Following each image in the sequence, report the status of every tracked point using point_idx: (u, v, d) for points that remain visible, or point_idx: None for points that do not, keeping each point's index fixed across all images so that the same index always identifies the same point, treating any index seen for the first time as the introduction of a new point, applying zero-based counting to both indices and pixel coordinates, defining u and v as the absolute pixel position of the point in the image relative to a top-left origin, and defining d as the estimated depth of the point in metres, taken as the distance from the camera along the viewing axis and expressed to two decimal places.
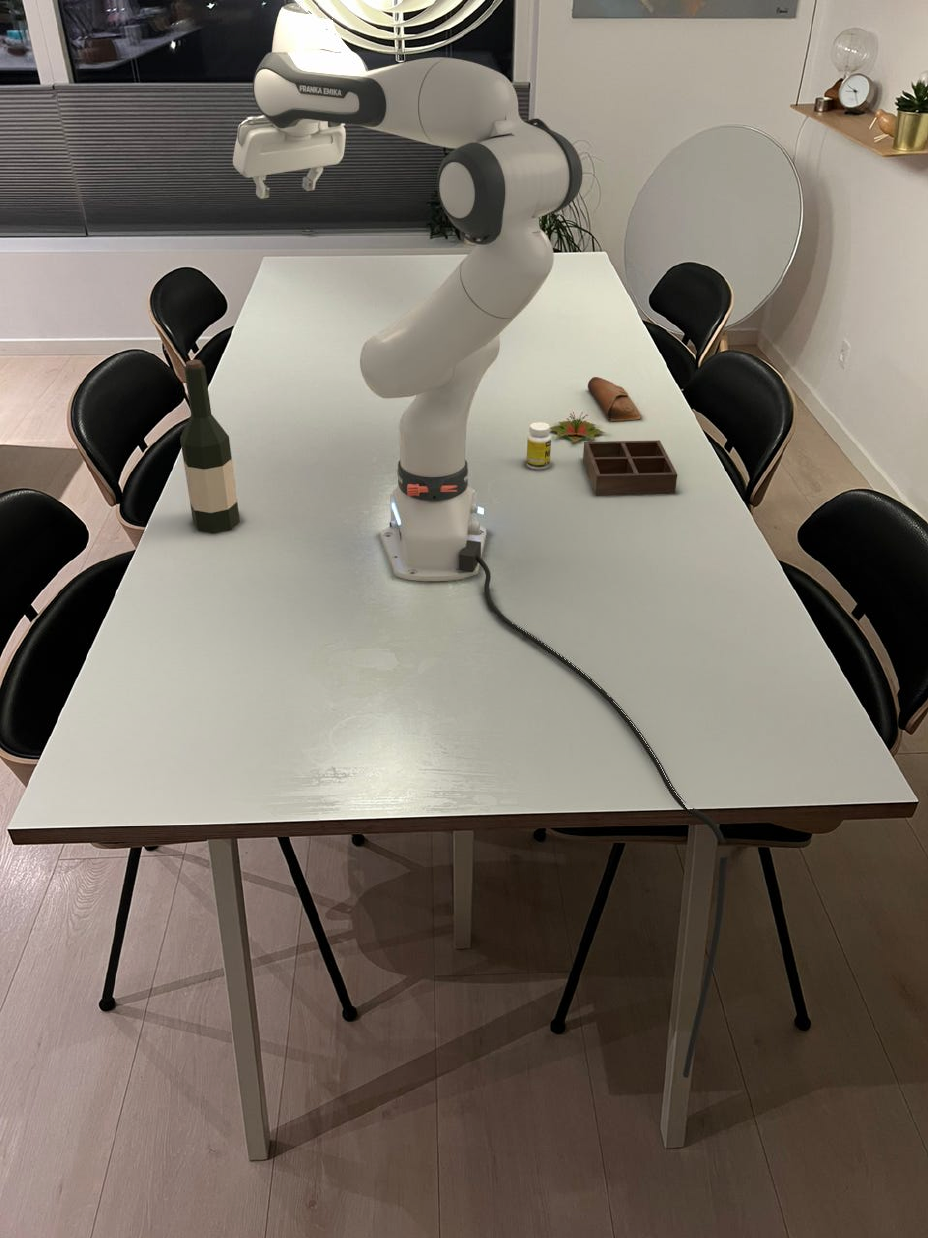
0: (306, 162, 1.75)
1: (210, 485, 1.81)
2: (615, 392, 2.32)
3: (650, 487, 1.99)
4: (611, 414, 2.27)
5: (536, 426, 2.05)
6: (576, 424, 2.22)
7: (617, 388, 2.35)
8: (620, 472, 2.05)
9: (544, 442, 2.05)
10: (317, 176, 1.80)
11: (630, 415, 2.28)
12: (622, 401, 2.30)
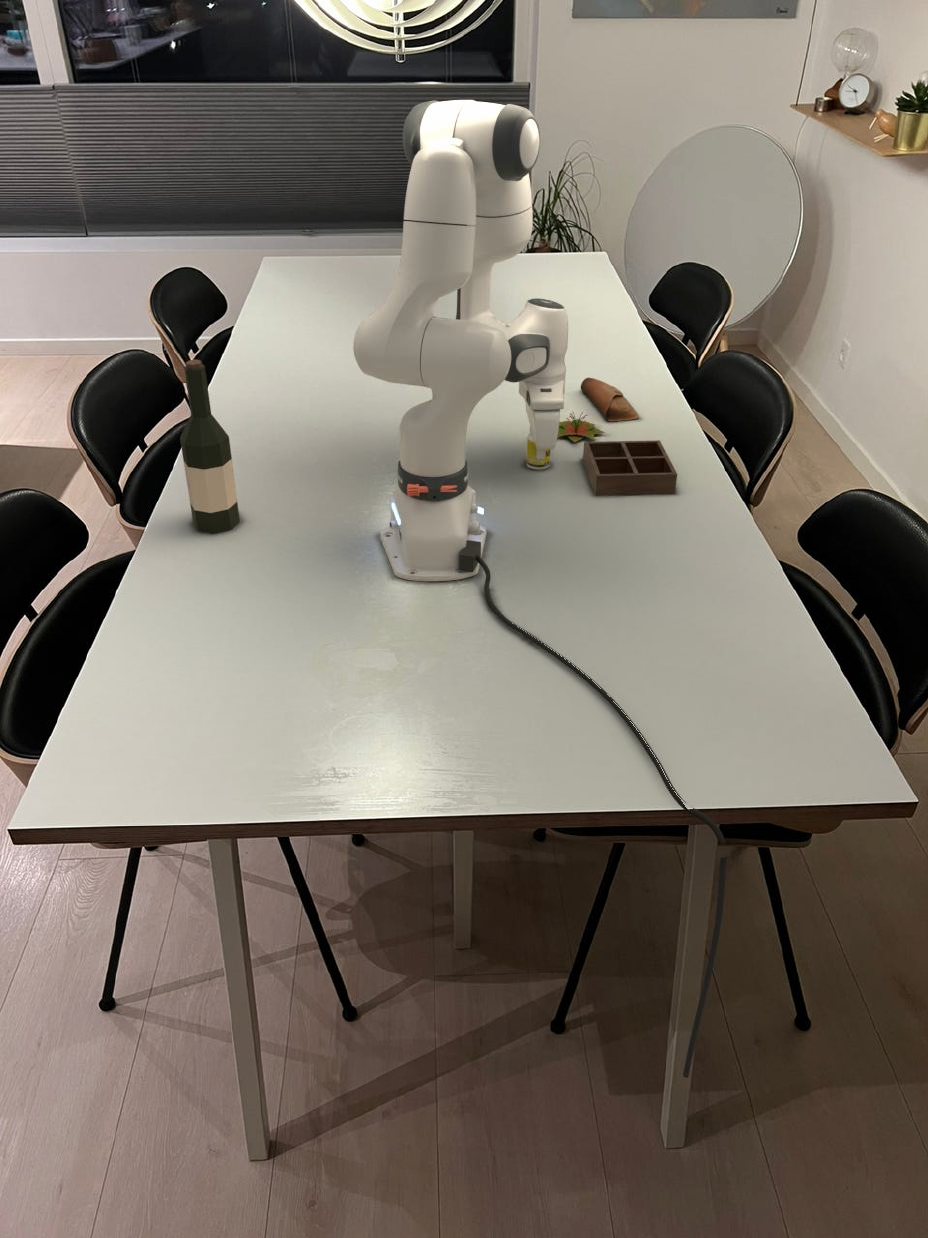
0: (531, 427, 2.03)
1: (210, 485, 1.81)
2: (611, 392, 2.32)
3: (650, 487, 1.99)
4: (609, 414, 2.27)
5: None
6: (576, 424, 2.22)
7: (612, 388, 2.35)
8: (620, 472, 2.05)
9: None
10: (536, 446, 2.03)
11: (628, 415, 2.28)
12: (618, 401, 2.30)
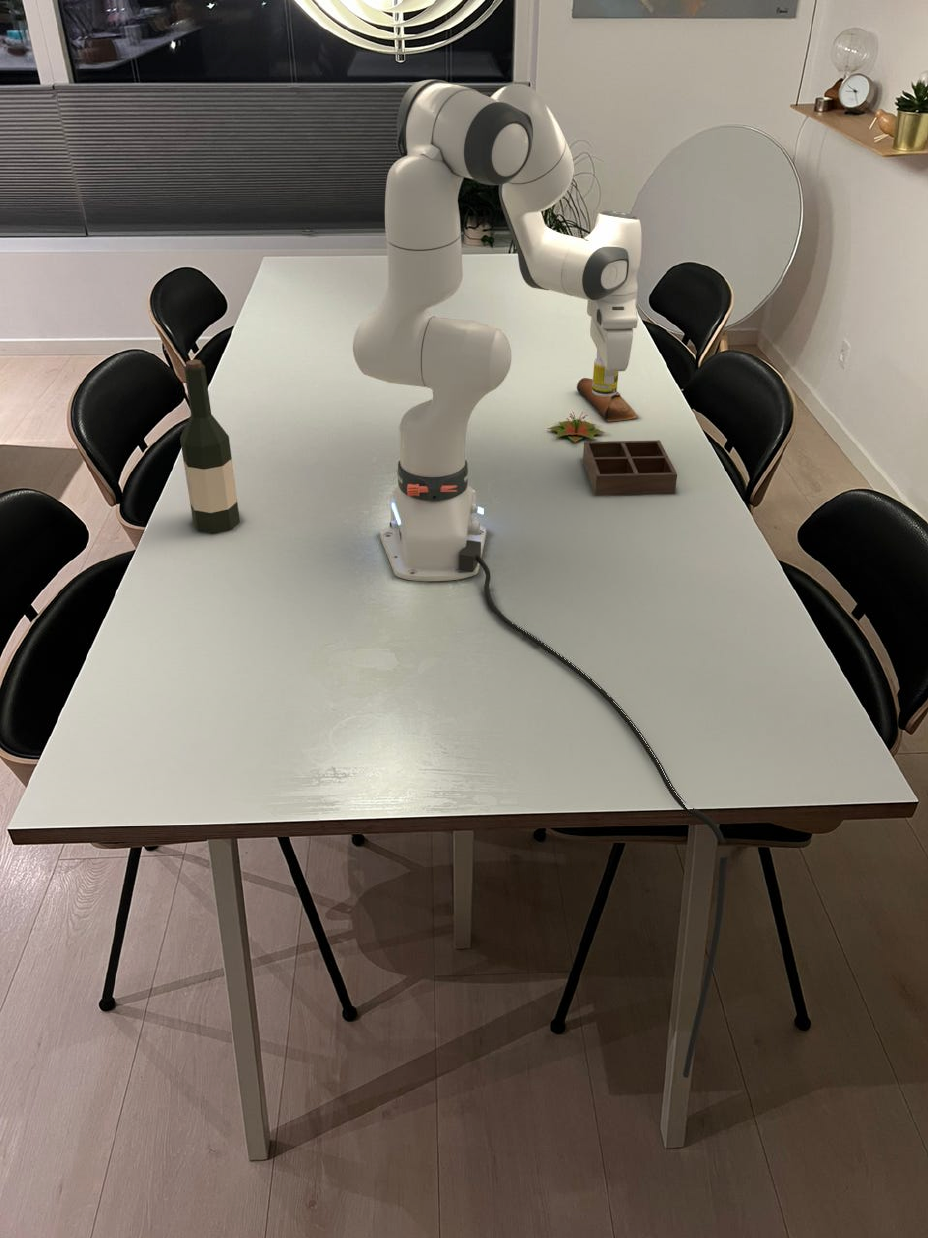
0: (600, 350, 1.93)
1: (210, 485, 1.81)
2: None
3: (650, 487, 1.99)
4: (608, 414, 2.27)
5: None
6: (576, 424, 2.22)
7: None
8: (620, 472, 2.05)
9: None
10: (605, 371, 1.93)
11: (627, 415, 2.29)
12: (616, 402, 2.30)
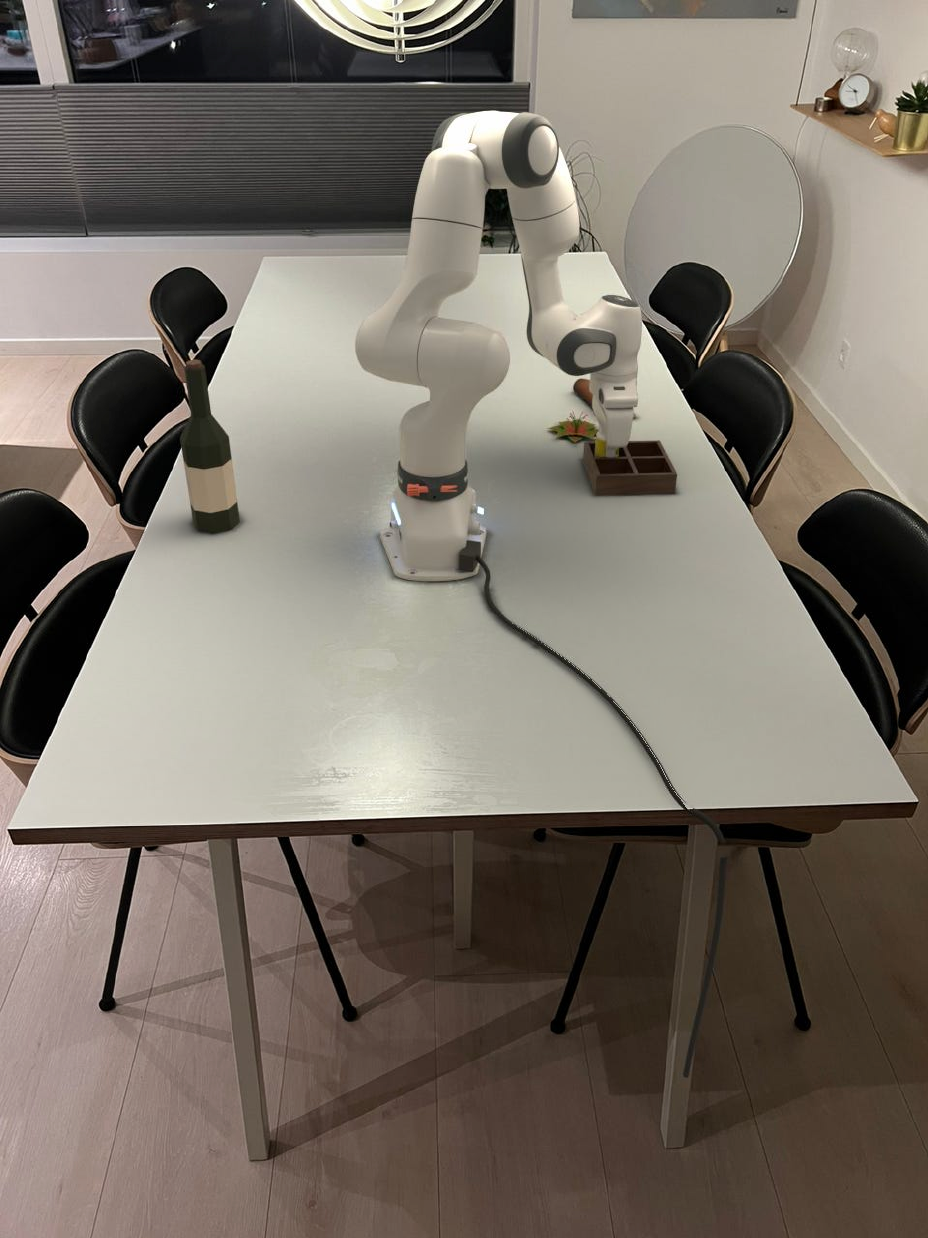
0: (602, 425, 2.01)
1: (210, 485, 1.81)
2: None
3: (650, 487, 1.99)
4: None
5: None
6: (576, 424, 2.22)
7: None
8: (620, 472, 2.05)
9: None
10: (606, 445, 2.02)
11: None
12: None
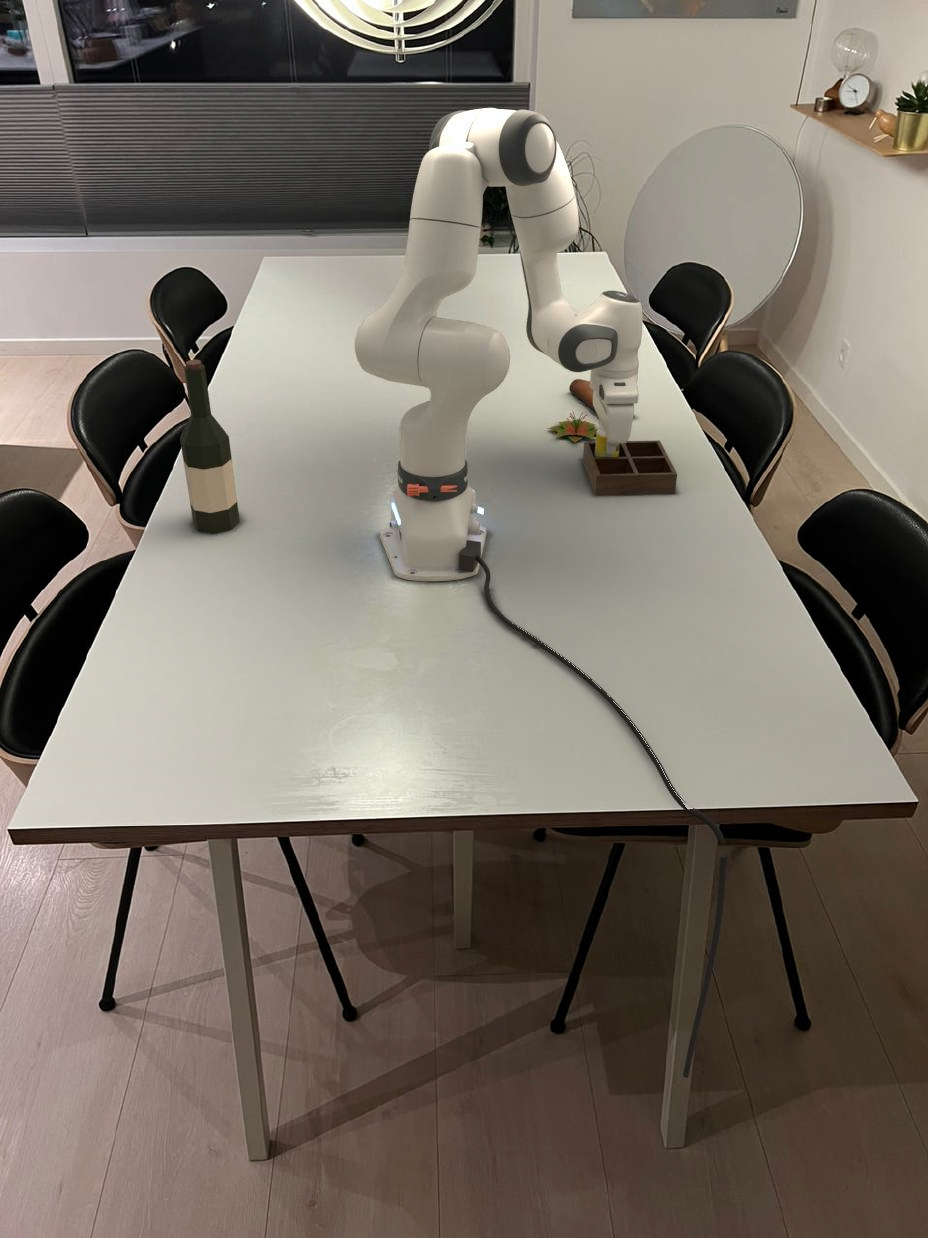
0: (602, 422, 2.01)
1: (210, 485, 1.81)
2: None
3: (650, 487, 1.99)
4: None
5: None
6: (576, 424, 2.22)
7: None
8: (620, 472, 2.05)
9: None
10: (607, 441, 2.01)
11: None
12: None
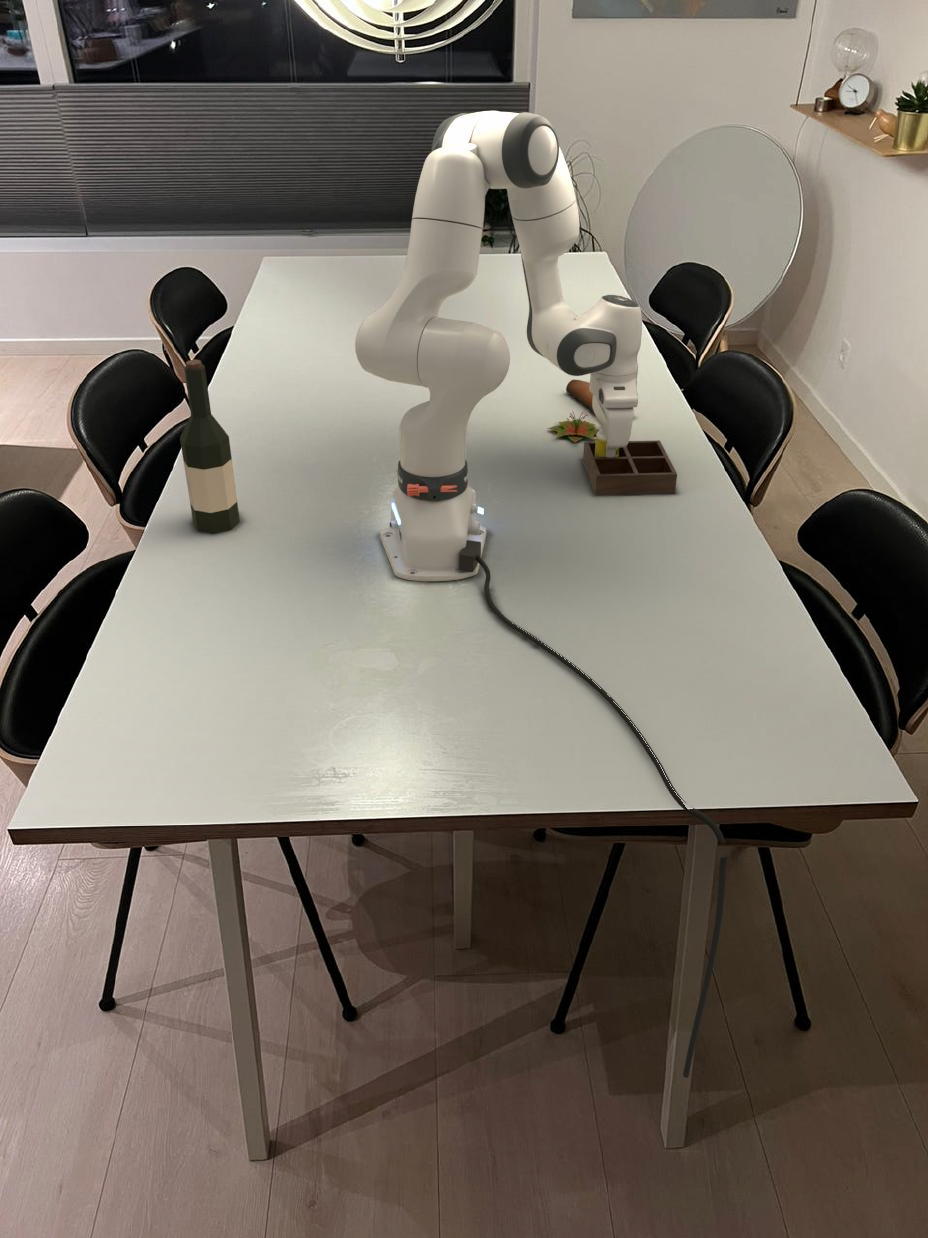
0: (602, 425, 2.01)
1: (210, 485, 1.81)
2: None
3: (650, 487, 1.99)
4: None
5: None
6: (576, 424, 2.22)
7: None
8: (620, 472, 2.05)
9: None
10: (606, 445, 2.02)
11: None
12: None
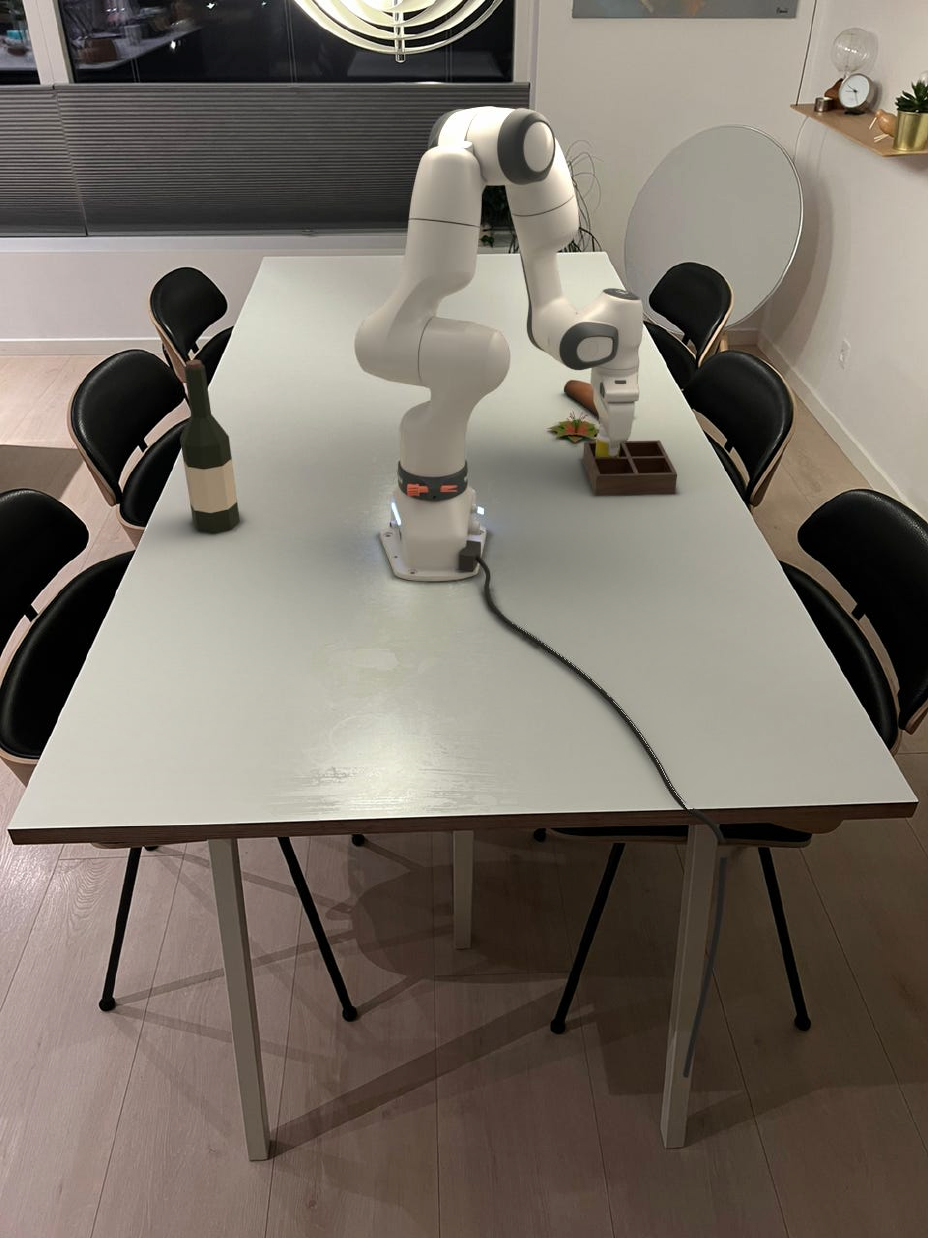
0: (603, 420, 2.00)
1: (210, 485, 1.81)
2: None
3: (650, 487, 1.99)
4: None
5: None
6: (576, 424, 2.22)
7: None
8: (620, 472, 2.05)
9: None
10: (609, 443, 1.99)
11: None
12: None
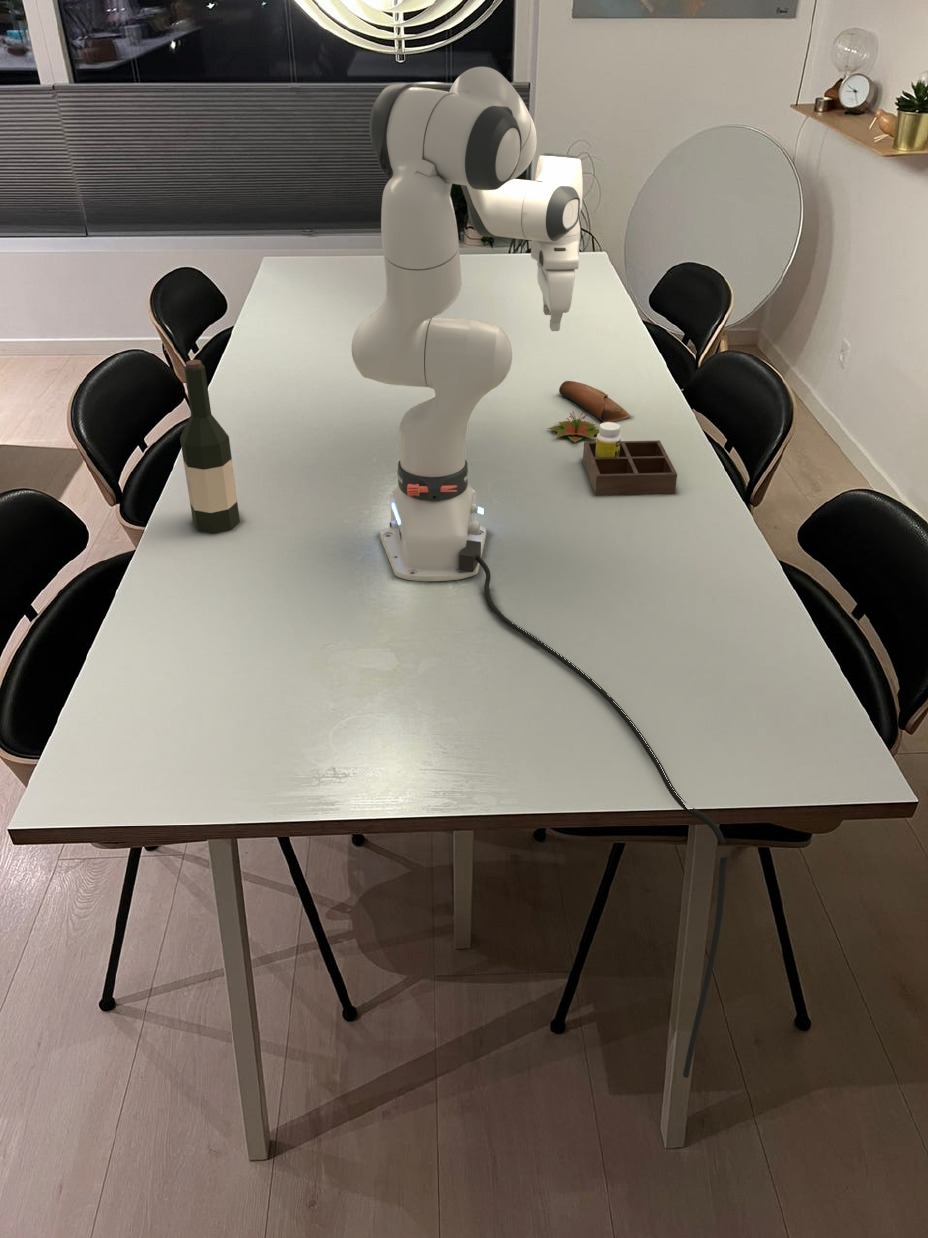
0: (544, 294, 1.94)
1: (210, 485, 1.81)
2: (598, 394, 2.31)
3: (650, 487, 1.99)
4: (604, 416, 2.26)
5: (606, 426, 2.03)
6: (576, 424, 2.22)
7: (595, 389, 2.34)
8: (620, 472, 2.05)
9: (614, 442, 2.03)
10: None
11: (620, 415, 2.29)
12: (608, 402, 2.30)
